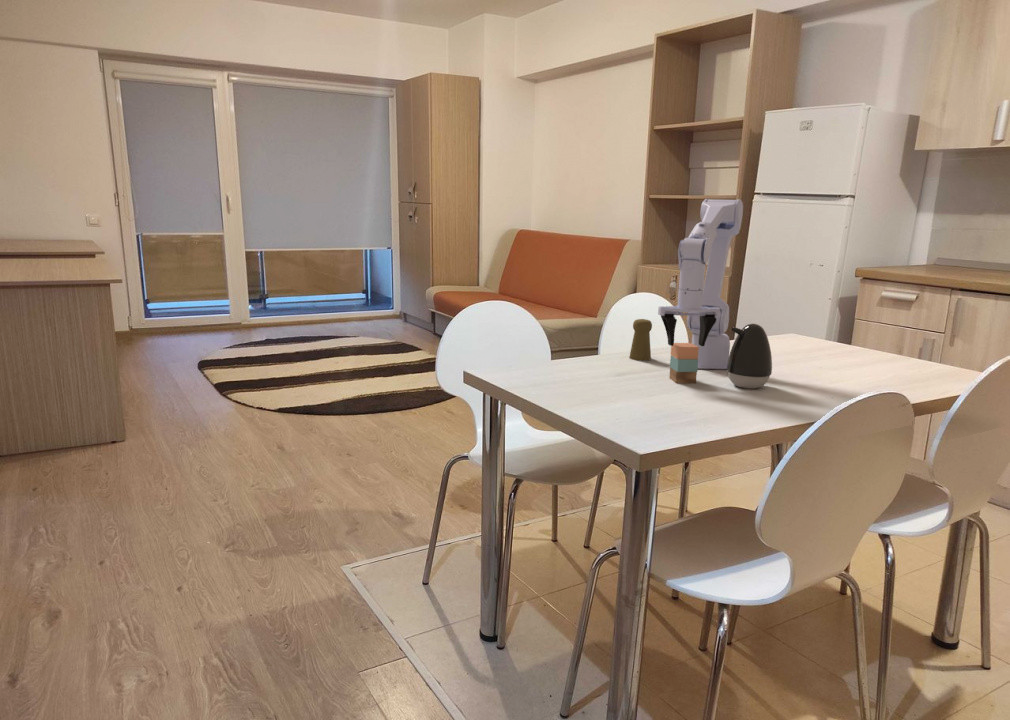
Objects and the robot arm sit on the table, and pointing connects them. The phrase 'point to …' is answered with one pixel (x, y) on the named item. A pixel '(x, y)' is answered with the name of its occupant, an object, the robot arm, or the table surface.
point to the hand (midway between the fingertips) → (686, 345)
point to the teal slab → (684, 364)
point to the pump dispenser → (750, 358)
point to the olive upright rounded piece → (641, 340)
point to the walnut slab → (682, 376)
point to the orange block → (684, 351)
